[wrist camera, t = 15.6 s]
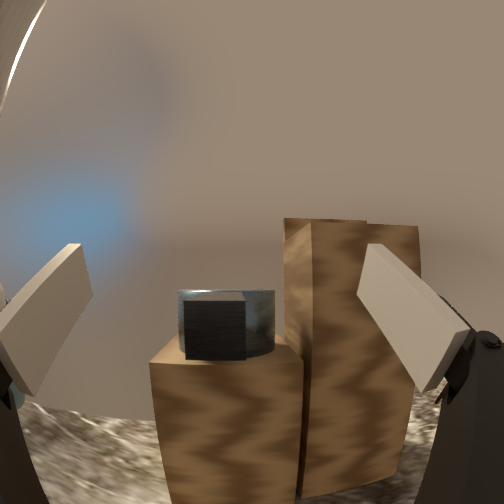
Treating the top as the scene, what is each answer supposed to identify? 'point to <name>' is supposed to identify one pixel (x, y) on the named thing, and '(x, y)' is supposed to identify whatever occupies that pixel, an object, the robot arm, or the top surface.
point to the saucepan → (226, 323)
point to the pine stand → (293, 385)
